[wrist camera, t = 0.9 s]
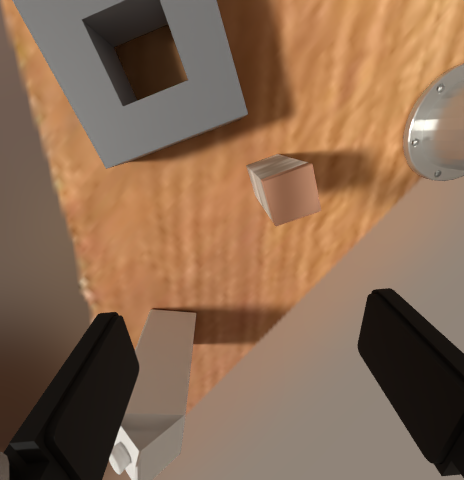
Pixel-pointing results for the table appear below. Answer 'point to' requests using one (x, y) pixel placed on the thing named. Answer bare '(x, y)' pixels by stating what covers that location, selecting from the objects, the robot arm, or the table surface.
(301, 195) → the peg
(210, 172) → the table surface
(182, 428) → the milk carton
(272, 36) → the table surface
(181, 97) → the socket block
